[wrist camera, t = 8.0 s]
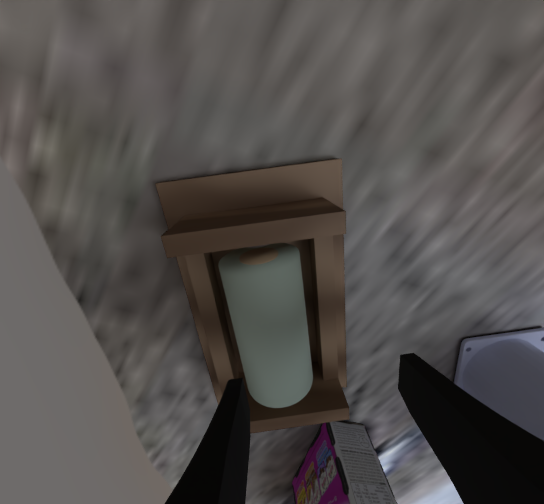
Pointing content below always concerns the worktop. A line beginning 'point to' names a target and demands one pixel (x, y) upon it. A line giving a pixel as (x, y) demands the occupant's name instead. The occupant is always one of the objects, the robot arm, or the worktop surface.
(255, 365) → the paper roll
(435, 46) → the worktop surface
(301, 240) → the roll cradle
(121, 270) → the worktop surface
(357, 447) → the candy bar box
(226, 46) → the worktop surface
